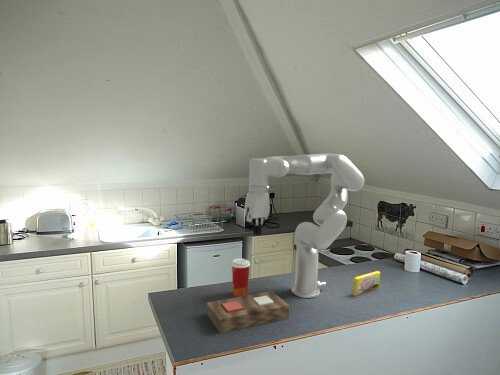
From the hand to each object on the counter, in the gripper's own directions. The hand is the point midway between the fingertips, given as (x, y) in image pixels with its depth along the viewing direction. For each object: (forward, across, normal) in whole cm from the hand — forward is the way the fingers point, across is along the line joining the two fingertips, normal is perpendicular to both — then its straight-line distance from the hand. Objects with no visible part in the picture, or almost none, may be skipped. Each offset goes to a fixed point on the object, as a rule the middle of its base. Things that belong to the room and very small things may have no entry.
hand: (257, 234), depth 147 cm
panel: (+29, +10, +8) cm, 32 cm away
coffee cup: (+29, +1, -10) cm, 31 cm away
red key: (+27, +17, +6) cm, 32 cm away
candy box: (+30, -47, +23) cm, 60 cm away
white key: (+27, +4, +9) cm, 28 cm away
